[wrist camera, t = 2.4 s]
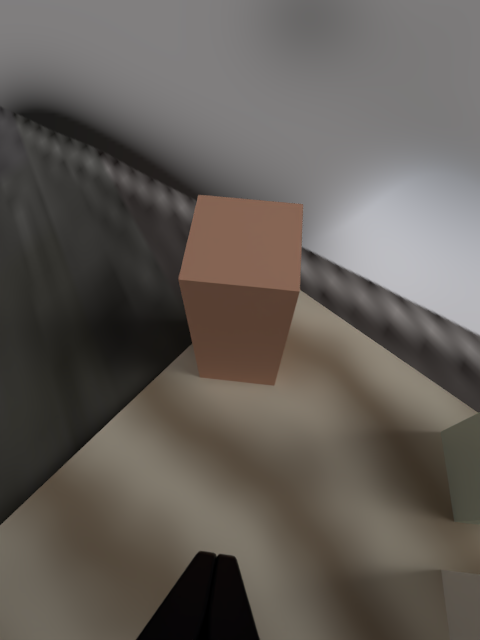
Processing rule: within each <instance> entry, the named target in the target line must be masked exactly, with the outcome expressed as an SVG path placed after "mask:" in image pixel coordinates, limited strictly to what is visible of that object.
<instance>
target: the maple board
mask: <svg viewBox="0 0 480 640" xmlns="http://www.w3.org/2000/svg"><path fill="white" fill-rule="evenodd" d="M475 414H477V412H476V411H475V410H473V409H472V408H470V407H469V406H467V405H466V404H464V403H463V402H461V401H460V400H459V399H457V398H456V397H454V396H453V395H451V394H450V393H448V392H447V391H446V390H444V389H443V388H441V387H440V386H438V385H437V384H435V383H434V382H432V381H431V380H430V379H428V378H427V377H425V376H424V375H422V374H421V373H419V372H418V371H417V370H415V369H414V368H412V367H411V366H409V365H408V364H406V363H405V362H403V361H402V360H401V359H399V358H398V357H396V356H395V355H393V354H392V353H390V352H389V351H388V350H386V349H385V348H383V347H382V346H380V345H379V344H377V343H376V342H374V341H373V340H372V339H370V338H369V337H367V336H366V335H364V334H363V333H361V332H360V331H359V330H357V329H356V328H354V327H353V326H351V325H350V324H348V323H347V322H345V321H344V320H343V319H341V318H340V317H338V316H337V315H335V314H334V313H332V312H331V311H330V310H328V309H327V308H325V307H324V306H322V305H321V304H319V303H318V302H316V301H315V300H314V299H312V298H311V297H309V296H308V295H306V294H305V293H303V292H302V291H301V290H300V292H299V296H298V300H297V303H296V307H295V311H294V315H293V318H292V322H291V326H290V329H289V333H288V337H287V341H286V344H285V348H284V352H283V355H282V359H281V363H280V367H279V370H278V374H277V378H276V382H275V385H274V386H273V385H264V384H255V383H246V382H237V381H228V380H219V379H210V378H201V377H200V376H199V371H198V367H197V362H196V358H195V353H194V348H193V344H191V345H190V346H189V347H188V348H187V349H186V350H185V351H184V352H183V353H182V354H181V355H180V356H179V357H177V358H176V359H175V360H174V361H173V362H172V363H171V364H170V365H169V366H168V367H167V368H166V369H165V370H164V371H163V372H162V373H161V374H159V375H158V376H157V377H156V378H155V379H154V380H153V381H152V382H151V383H150V384H149V385H148V386H147V387H146V388H145V389H144V390H143V391H142V392H140V393H139V394H138V395H137V396H136V397H135V398H134V399H133V400H132V401H131V402H130V403H129V404H128V405H127V406H126V407H125V408H124V409H123V410H121V411H120V412H119V413H118V414H117V415H116V416H115V417H114V418H113V419H112V420H111V421H110V422H109V423H108V424H107V425H106V426H105V427H104V428H102V429H101V430H100V431H99V432H98V433H97V434H96V435H95V436H94V437H93V438H92V439H91V440H90V441H89V442H88V443H87V444H86V445H85V446H83V447H82V448H81V449H80V450H79V451H78V452H77V453H76V454H75V455H74V456H73V457H72V458H71V459H70V460H69V461H68V462H67V463H66V464H64V465H63V466H62V467H61V468H60V469H59V470H58V471H57V472H56V473H55V474H54V475H53V476H52V477H51V478H50V479H49V480H48V481H46V482H45V483H44V484H43V485H42V486H41V487H40V488H39V489H38V490H37V491H36V492H35V493H34V494H33V495H32V496H31V497H30V498H29V499H27V500H26V501H25V502H24V503H23V504H22V505H21V506H20V507H19V508H18V509H17V510H16V511H15V512H14V513H13V514H12V515H11V516H10V517H8V518H7V519H6V520H5V521H4V522H3V523H2V524H1V525H0V640H136V639H137V637H138V636H139V634H140V633H141V631H142V630H143V629H144V627H145V626H146V624H147V623H148V622H149V620H150V619H151V617H152V616H153V614H154V613H155V612H156V610H157V609H158V607H159V606H160V605H161V603H162V602H163V600H164V599H165V597H166V596H167V595H168V593H169V592H170V590H171V589H172V588H173V586H174V585H175V583H176V582H177V580H178V579H179V578H180V576H181V575H182V573H183V572H184V571H185V569H186V568H187V566H188V565H189V563H190V562H191V561H192V559H193V558H194V556H195V555H196V554H197V553H198V552H199V551H207V552H213V553H215V554H216V556H218V554H226V555H233V556H235V557H236V559H237V562H238V565H239V569H240V572H241V575H242V579H243V582H244V586H245V589H246V593H247V596H248V600H249V603H250V607H251V610H252V614H253V617H254V621H255V624H256V628H257V631H258V635H259V638H260V640H450V636H449V628H448V620H447V612H446V605H445V597H444V589H443V581H442V574H441V570H449V571H457V572H464V573H472V574H480V525H477V524H469V523H460V522H454V517H453V510H452V503H451V497H450V490H449V484H448V477H447V471H446V464H445V457H444V451H443V444H442V438H441V431H443V430H445V429H447V428H449V427H451V426H453V425H455V424H457V423H459V422H461V421H463V420H465V419H467V418H469V417H471V416H473V415H475Z"/></svg>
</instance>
